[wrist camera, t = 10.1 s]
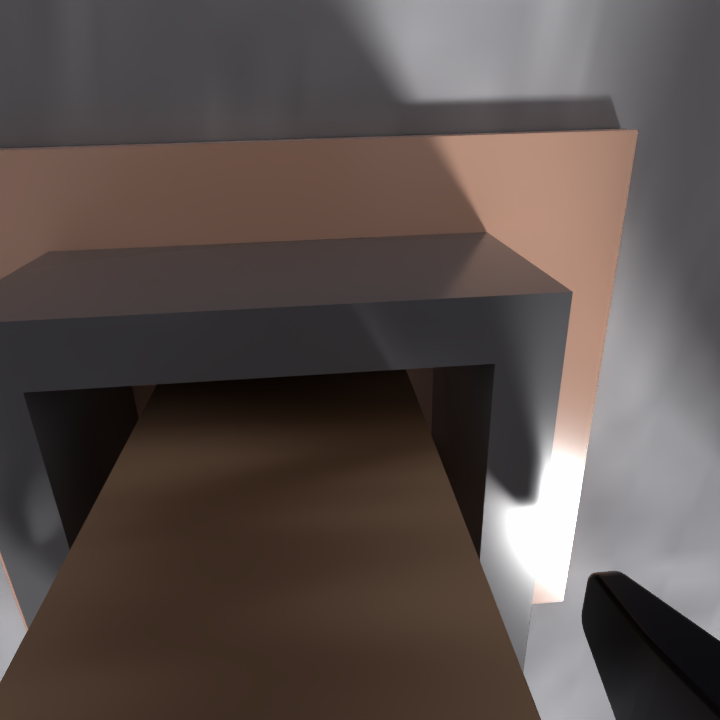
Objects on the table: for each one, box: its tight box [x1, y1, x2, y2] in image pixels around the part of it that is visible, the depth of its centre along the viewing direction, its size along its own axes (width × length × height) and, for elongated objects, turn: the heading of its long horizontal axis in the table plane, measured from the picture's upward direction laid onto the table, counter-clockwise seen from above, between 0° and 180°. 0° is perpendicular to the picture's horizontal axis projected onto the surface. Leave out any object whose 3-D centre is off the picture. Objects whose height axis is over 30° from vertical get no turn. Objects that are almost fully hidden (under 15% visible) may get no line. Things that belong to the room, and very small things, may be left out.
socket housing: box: [0, 129, 638, 672], centre depth 11 cm, size 14×12×5 cm
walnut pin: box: [0, 369, 541, 720], centre depth 9 cm, size 4×4×9 cm
